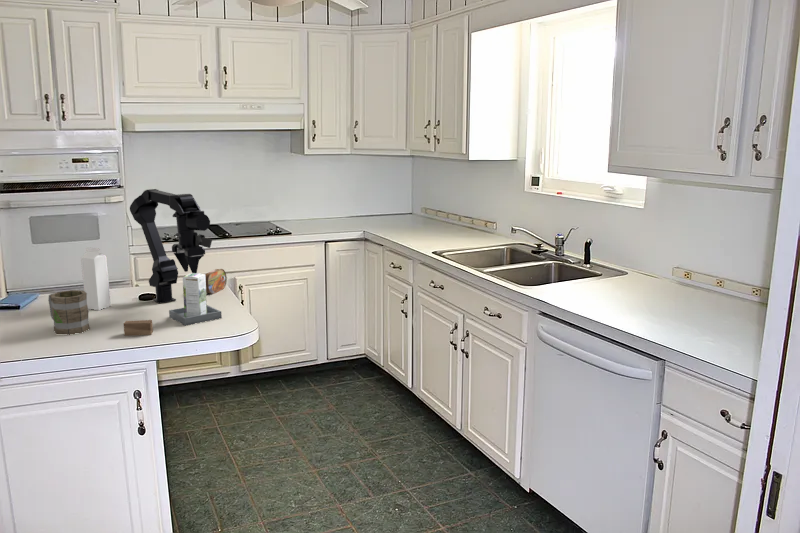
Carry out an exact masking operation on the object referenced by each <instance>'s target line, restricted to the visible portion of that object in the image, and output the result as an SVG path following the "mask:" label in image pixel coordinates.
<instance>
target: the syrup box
mask: <svg viewBox="0 0 800 533" xmlns="http://www.w3.org/2000/svg"><path fill="white" fill-rule="evenodd" d="M205 274H206V273H199V272H197V273H192V272H191V273H188V274H186V275H184V276H183V277H182V292H183V294H182V295H183V308H184V317H185V318H187V317H192V316H198V315H203V314H207V305H208V303H207V302H208V301H207V293H206V277H205Z"/></svg>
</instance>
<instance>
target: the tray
mask: <svg viewBox="0 0 800 533" xmlns="http://www.w3.org/2000/svg"><path fill="white" fill-rule="evenodd" d="M168 315H169V318H170V319H172V320H174V321H175V322H177V323H179V324H182V325H183V326H186V325H187V326H191V324H192V325H195V323H197V324H201V323H200V322H202V323H206V322H205V321H207V322H211V321H210V320H212V321H216V320H215V319H217V320H220V319H219V318H223V317H222V311H221V310H219V309H217V308H215V307H212V306H211V305H208V304H207V314H203V315H198V316H192V317H187V318H185V317H184V307H180V308H179V307H178V308H174V309H169V310H168Z"/></svg>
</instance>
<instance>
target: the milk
mask: <svg viewBox="0 0 800 533" xmlns="http://www.w3.org/2000/svg"><path fill="white" fill-rule="evenodd" d="M85 249H86V252H85V253H83V255H82V256H81V257H80V262H81V272H82V281H83V282H82V284H83V291H85V292H86V293H87V307H88V310H91V309H94V310H93V311H101V309H102V310H103V308H105V309H107V308H106V307H108V308H110V307H109V306H111V305H112V304H111V293H110V292H111V291H110V281H109V280H110V279H109V272H108V271H109V269H108V260H107V259H108V258H107V255H105V254H104V253H102V252H101V249H100V248H97V247H87V246H86V248H85Z"/></svg>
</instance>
